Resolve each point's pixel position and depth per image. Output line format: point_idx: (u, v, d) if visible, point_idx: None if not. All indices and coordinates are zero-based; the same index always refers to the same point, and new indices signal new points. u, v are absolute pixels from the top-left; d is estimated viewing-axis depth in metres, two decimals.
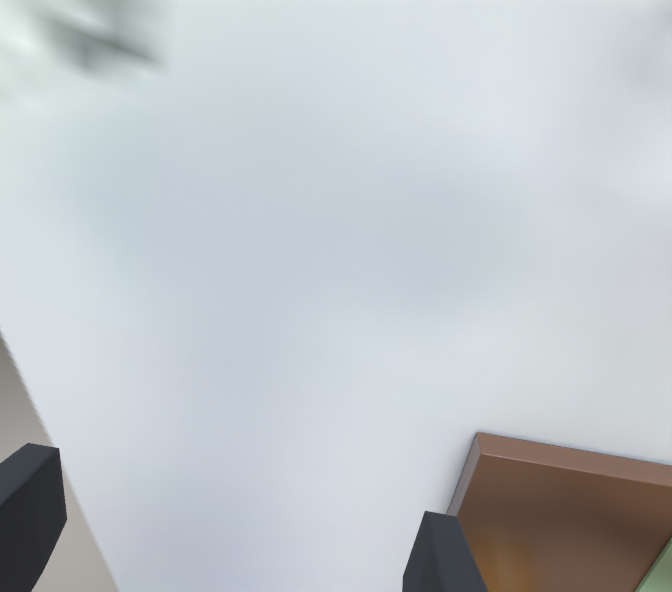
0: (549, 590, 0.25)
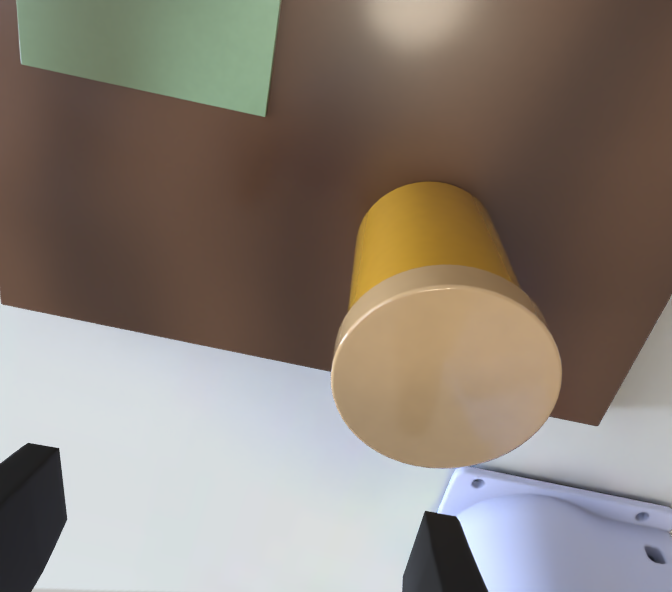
0: (210, 215, 0.18)
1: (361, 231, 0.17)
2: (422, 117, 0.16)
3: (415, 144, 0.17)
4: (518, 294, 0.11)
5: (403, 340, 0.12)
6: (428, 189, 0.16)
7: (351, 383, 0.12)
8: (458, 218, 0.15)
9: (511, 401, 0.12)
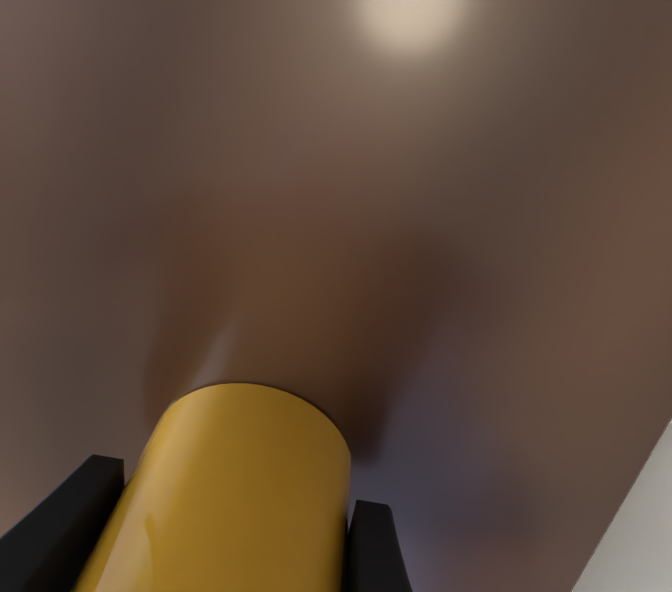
0: None
1: None
2: (208, 301, 0.11)
3: (207, 336, 0.11)
4: None
5: None
6: (224, 406, 0.11)
7: None
8: (232, 496, 0.09)
9: None
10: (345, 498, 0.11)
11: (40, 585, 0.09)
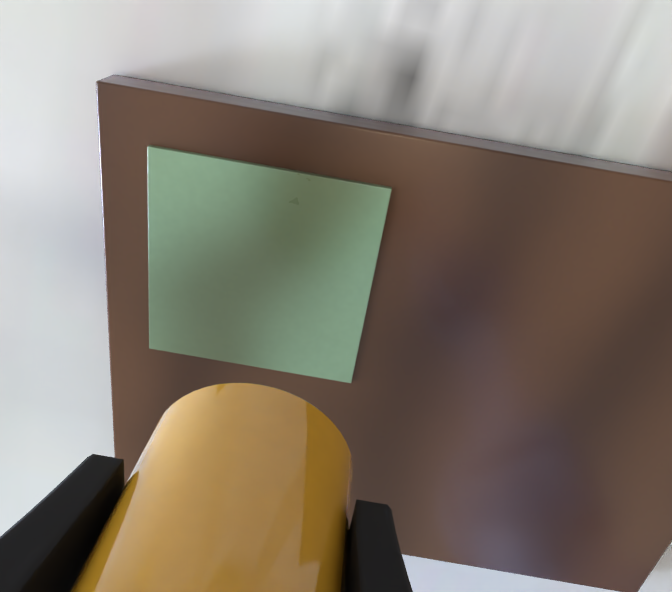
0: None
1: None
2: (482, 381, 0.20)
3: (476, 399, 0.20)
4: None
5: None
6: (224, 406, 0.11)
7: None
8: (232, 496, 0.09)
9: None
10: (345, 498, 0.11)
11: (40, 585, 0.09)
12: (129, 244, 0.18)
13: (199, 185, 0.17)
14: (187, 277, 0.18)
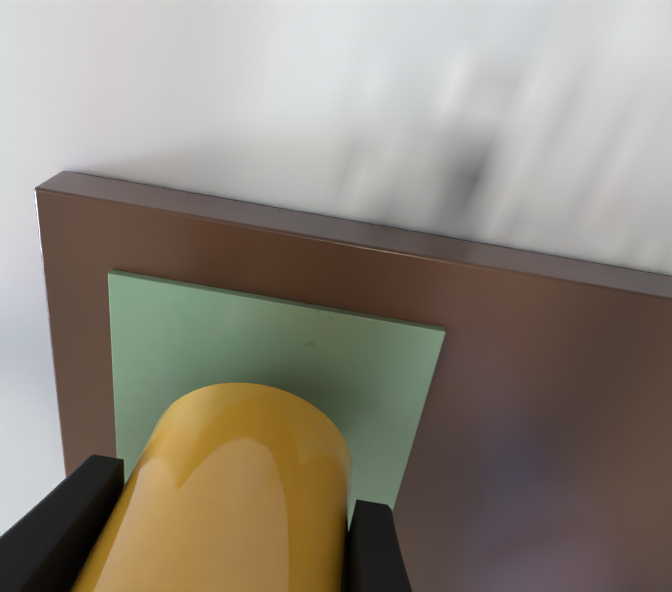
0: None
1: None
2: (552, 550, 0.15)
3: (543, 570, 0.15)
4: None
5: None
6: (224, 405, 0.11)
7: None
8: (231, 496, 0.09)
9: None
10: (345, 498, 0.11)
11: (40, 585, 0.09)
12: (89, 387, 0.14)
13: (180, 322, 0.12)
14: None
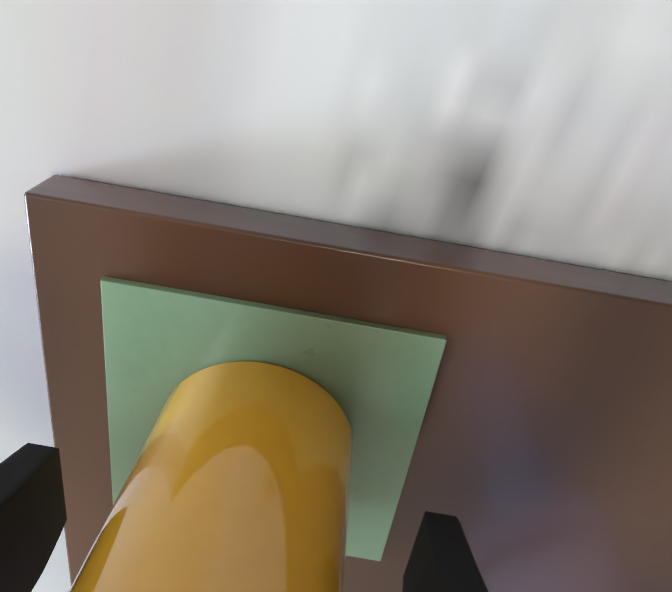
0: None
1: None
2: (555, 561, 0.15)
3: (545, 580, 0.15)
4: None
5: None
6: (232, 382, 0.11)
7: None
8: (241, 462, 0.10)
9: None
10: (347, 469, 0.12)
11: None
12: (82, 395, 0.13)
13: (175, 330, 0.12)
14: None
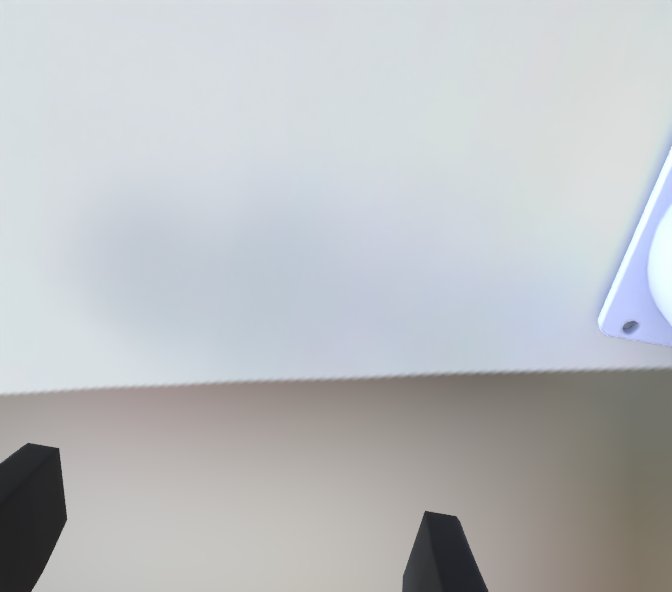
0: None
1: None
2: None
3: None
4: None
5: None
6: None
7: None
8: None
9: None
10: None
11: None
12: None
13: None
14: None
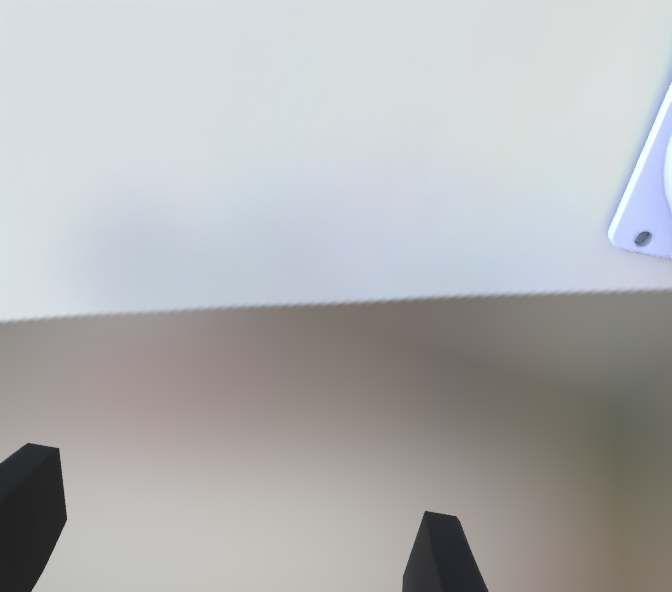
0: None
1: None
2: None
3: None
4: None
5: None
6: None
7: None
8: None
9: None
10: None
11: None
12: None
13: None
14: None
